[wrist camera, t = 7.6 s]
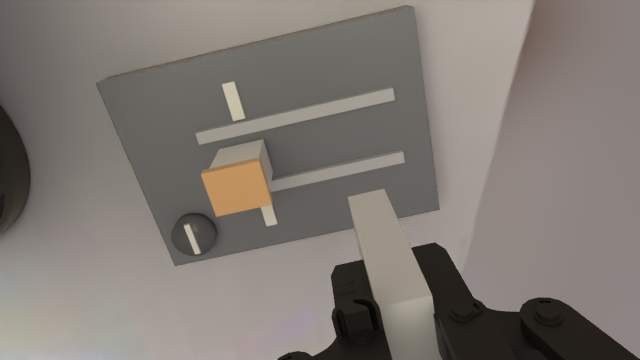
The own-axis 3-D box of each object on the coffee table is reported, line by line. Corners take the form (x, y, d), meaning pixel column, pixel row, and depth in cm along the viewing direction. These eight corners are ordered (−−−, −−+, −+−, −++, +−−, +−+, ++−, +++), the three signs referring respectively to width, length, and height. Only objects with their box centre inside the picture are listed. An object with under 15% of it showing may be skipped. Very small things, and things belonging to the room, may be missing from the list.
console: (181, 251, 35) (170, 275, 32) (108, 77, 29) (87, 87, 26) (432, 197, 34) (444, 217, 31) (406, 5, 28) (418, 7, 25)
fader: (228, 184, 30) (216, 216, 26) (215, 146, 29) (200, 174, 25) (276, 173, 30) (272, 204, 26) (265, 135, 29) (259, 161, 25)
